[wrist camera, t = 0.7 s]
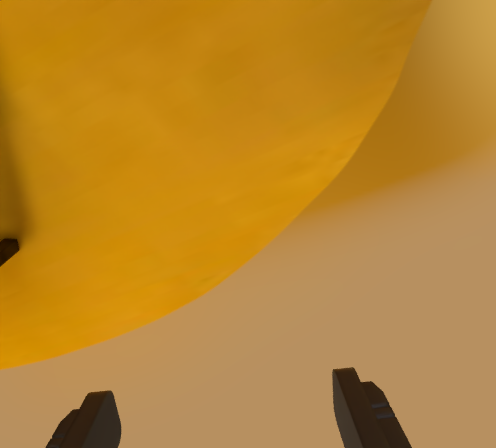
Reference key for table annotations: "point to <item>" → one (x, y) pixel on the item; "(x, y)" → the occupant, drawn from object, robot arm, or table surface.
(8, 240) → the rack
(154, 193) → the table surface
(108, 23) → the table surface
